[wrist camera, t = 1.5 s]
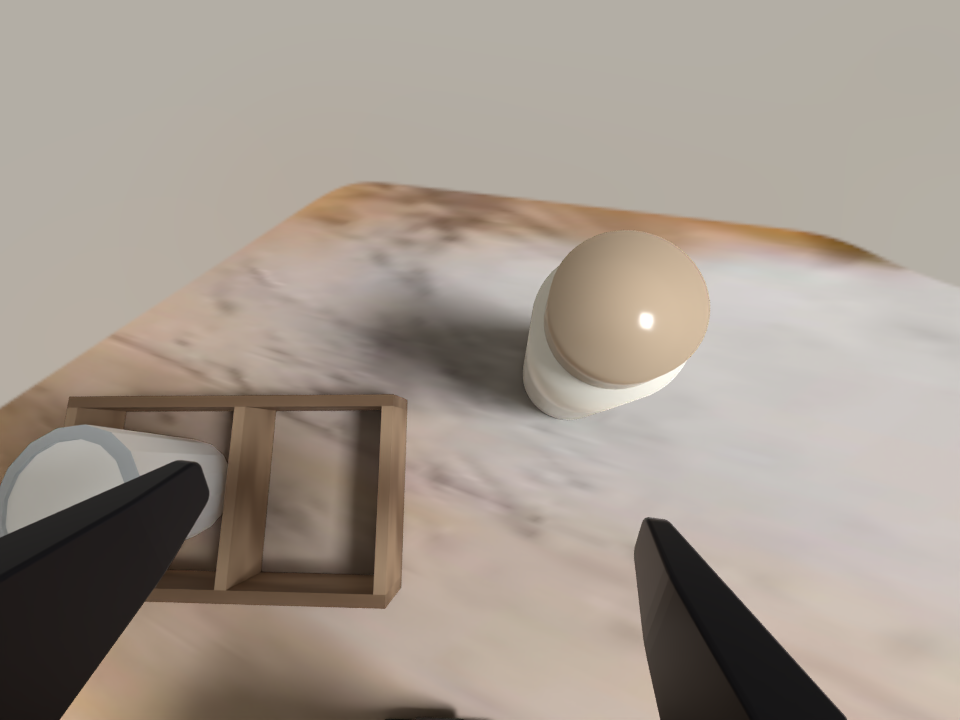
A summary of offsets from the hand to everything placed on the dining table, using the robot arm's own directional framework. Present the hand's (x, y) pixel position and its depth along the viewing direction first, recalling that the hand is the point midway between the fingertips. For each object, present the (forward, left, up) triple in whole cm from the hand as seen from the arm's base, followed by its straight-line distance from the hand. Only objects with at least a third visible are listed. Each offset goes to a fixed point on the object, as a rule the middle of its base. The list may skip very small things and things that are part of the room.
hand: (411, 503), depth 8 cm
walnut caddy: (-1, +13, -16) cm, 21 cm away
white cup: (-1, +17, -16) cm, 24 cm away
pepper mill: (+5, -5, -16) cm, 17 cm away
